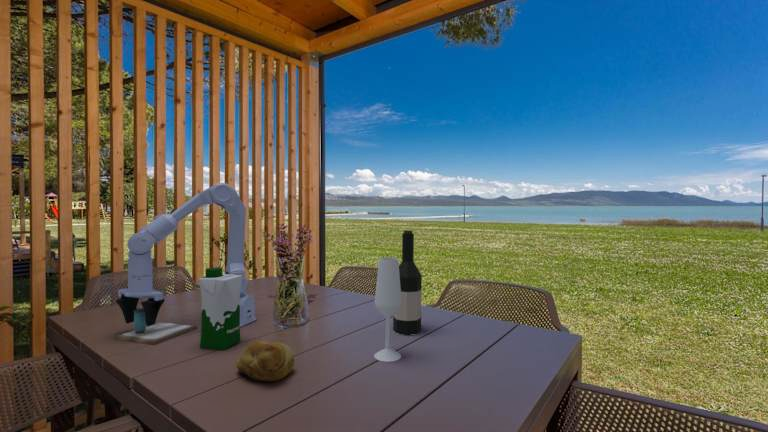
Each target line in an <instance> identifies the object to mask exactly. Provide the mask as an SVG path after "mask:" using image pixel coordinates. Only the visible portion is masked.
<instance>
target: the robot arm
mask: <svg viewBox="0 0 768 432" xmlns="http://www.w3.org/2000/svg"><path fill="white" fill-rule="evenodd" d="M213 204H215V205H217V206H219V207H221V208H222V209H223V210H224V211H225V212H227V214H228V216H229V218H228V236H227V239H228V240H227V256H226V259H227V262H226V267H225V271H224V272H225V273H224V274H234V275H242V281H241V288H240V328H241V327H244V326H246V325H248V324H250V323H252V322H255V321H257V318H256V300H255V298H254V296H252V295H249V294H248V291H247V289H248V287H249V282H248V279H247V277H246V267H245V241H246V219H247V217H246V216H247V209H246V206H245V204H244V203H243V201H242V200H241V198H240V196H239V194H238V192H237V190H236V189H235V188H233V187H232V186H231V185H230V184H229V183H225V182H218V183H216V184H214V185H212V186H210V187H208V188H206V189H204V190H202V191H201V192H198V193H196V194H195V195H194V196H192V197H191V198H190V199H188V200H187V201H185V203H184V204H182V205H181V206H179V207H178V208H176V209H175V210H174V211H173V212H172V213H170V214H167V213H162V214H161V215H155V216H154V217H153V220H152V221H150V222H149V223H148V224H147V225H145V226H144V227H143V226H142V227H139V228H138V231H139V232H136V233H133V234H131V236H130V237H129V239H128V240H127V244H126V245H127V248H128V249H129V251H128V259H127V288H122V289H118V290H117V292H118V295H117V296H118V297H119V298H118V299H115V303H117V305H118V307H119V308H120V310H121V312H122V314H123V318H124V321H125V323H126V324H131V323H134V309H137V306H138V304H139V300H140V299H144V301H140V304H141V306H142V308H143V309H144V312H145V321H146V326H151V325H154V324H155V323H157V319H158V318H157V317H158V315H159V312H160V310H161V307H162V306H163V304H164V303H165V298H164V292H163V291H160V290H159V291H158V290H156V289H153V281H154V279H153V278H154V277H153V275H154V274H153V265H154V264H153V261H154V260H153V257H152V249H153V247H154V244H159V243H160V242H162V241H163V240H165V239H166V238H167V237H169V236H170V235H172V234H173V233H174V232H175V231H176V230H178V225H179V222H181V221H182V220H183V219H185V218H186V217H188V216H189V215H191V214H192V213H194V211H196V210H198V209H199V208H200V207H202V206H208V205H213Z"/></svg>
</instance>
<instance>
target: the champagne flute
mask: <svg viewBox="0 0 768 432" xmlns="http://www.w3.org/2000/svg"><path fill="white" fill-rule="evenodd" d="M377 264H378V266H377V273H376V274H377V275H376V286H375V294H374V306H375V308H376V309H377V311H378V312H379V313H380V314H381V315H382V316H384V317H385V335H384V337H385V345H384V347H385V348H383V349H381V350H379V351H378V352H375V353H374V355H373V357H374V358H375V360H377V361H380V362H386V363H387V362H389V363H390V362H395V361H399V360H400V359H401V358H402V355H401V354H400V352H397V351H396V350H394V349H392V348H391V317H393V315H394V314H395V313H396V312H397V311H398V310H399V309H400V307H401V305H402V300H401V288H400V275H399V265H400V264H399V258H397V257H389V256H388V257H380V258H378V263H377Z"/></svg>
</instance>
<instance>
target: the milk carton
mask: <svg viewBox="0 0 768 432" xmlns="http://www.w3.org/2000/svg"><path fill="white" fill-rule="evenodd" d="M241 281H242V275H234V274H225V273H223V268H222V267H209V268H205V276H202V277H199V278H198V285H199V288H200V294H201V313H200V314H201V322H200V323H201V324H200V325H201V328H200V339H199V340H200V341H199V348H200V349H208V350H218V351H225V350H227V349H228V348H230V347H232V346H234V345H235V344H238V343H239V342H240V341H241V327H240V288H241Z"/></svg>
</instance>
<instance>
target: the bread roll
mask: <svg viewBox="0 0 768 432" xmlns="http://www.w3.org/2000/svg"><path fill="white" fill-rule="evenodd" d="M295 362H296V361H295V355H294V353H293V351H292V349H291V347H290V346H288V345H287V344H285V343H284V342H282V341H280V342H279V341H278V342H272V343H270V342H268V341H267V340H255V341H253V342H251V343H250V344H249V345H247V346H246V347H245V348H244V349H243V351H242V353H241V355H240V356H239V357H238V358H237V361H236V368H237V370H238V372H239V373H240V374H243V375H246V376H248V377H249V378H251V379H253V380H255V381H257V382H265V383H266V382H267V383H268V382H269V383H270V382H277V381H280V380H281V379H284V378H285V377H286V376H288V375H289V373H291V371H292V370H293V369H294V366H295Z"/></svg>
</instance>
